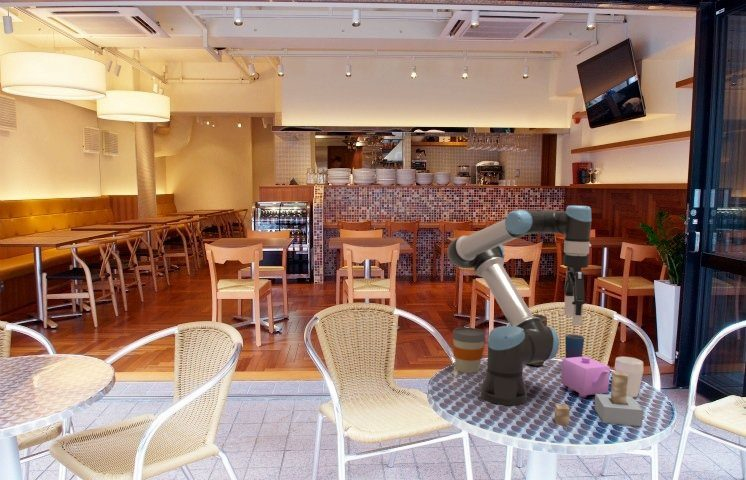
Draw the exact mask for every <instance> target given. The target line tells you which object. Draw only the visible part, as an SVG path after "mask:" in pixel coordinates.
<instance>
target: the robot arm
mask: <svg viewBox="0 0 746 480" xmlns="http://www.w3.org/2000/svg"><path fill="white" fill-rule="evenodd" d="M592 222H593V220H592V208H591V207H590V206H587V205H568V206H566V209H565V211H562V210H551V209H549V210H548V209H545V210H525V209H518V210H512V211H509V212H508V213H507V215H506V217H505V218H504V219H502V220H500V221H497V222H496V223H494V224H491V225H489V226H487V227H485V228H482V229H481V230H478V231H476V232H474V233H472V234H470V235H461V236H460V237H456V238H455V239H454V240H452V241H451V242H450V243H449V245H448V246H447V257H448V260H449V261H450V262H451V264H453V266H455V267H458V268H462V269H473V270H474V272H475V274H476V275H477V276H478V277H480V278H483V279H484V281H485V283H486V285H487V287H488V288H489V290H490V291H491V294H492V295H493V297H494V299H495V300H496V303H497V304H498V306H499V308H500V309H501V311H502V313H503V314H504V316H505V318H506V320H507V321H508V324H509V325H502V326H498V327H494V328H493V329H491V331H490V332H489V335H488V341H487V364H486V365H487V368H486V374H485V377H484V380H483V383H482V384H481V385H482V386H481V389H480V396H481V398H483V400H485V401H487V402H490V403H492V404H495V405H496V404H497V405H504V406H519V405H522V404H524V403H526V402H527V400H528V392H527V387H526V385H525V381H524V377H523V373H524V371H523V370H524V365H530V364H531V363H537V362H544V363H546V362H547V361H551V360H553V359H554V358H555V357H556V356H557V354H558V353H559V349H560V347H559V346H560V338H559V335H558V333H557V331H556V330H555V329H554V328H553V327H550V326H548V325H547V326H544V325H543V323H542V322H541V320H540V318H538V317H534V316H533V315H534V314H533V313H532V312H531V310H530V309H529V307H528V305H527V303H526V302H525V301H524V298H523V297H522V295H521V294H520V292H519V290H518V289H517V287H516V285H515V284H514V282H513V281H512V279H511V277H510V275H509V273H507V270H506V269H505V267H504V264H505V255H506V254H505V250H504V246H503V245H504V244H507V243H509V242H511V241H513V240H515V239H518V238H521V237H523V236H526V235H532V234H539V235H540V234H541V235H542V234H557V235H564V242H563V253H564V254H563V260H562V261H563V262H562V265H563V266H564V267H566V277H565V283H564V289H563V292H564V309H563V310H564V311H563V315H564V316H567V317H568V316H569V317H571V316H572V320H571V321H572V322H571V325H572V326H578V327H579V326H581V327H582V326H583V324H582V323H583V313H584V312H583V310H584V307H583V306H584V305H585V304H586V299H585V298H586V297H585V296H586V295H585V272H583V271H582V269H586V268H588V267H589V262H590V257H589V254H590V248H591V247H592V244H591V239H590V237H591V228H592Z"/></svg>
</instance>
